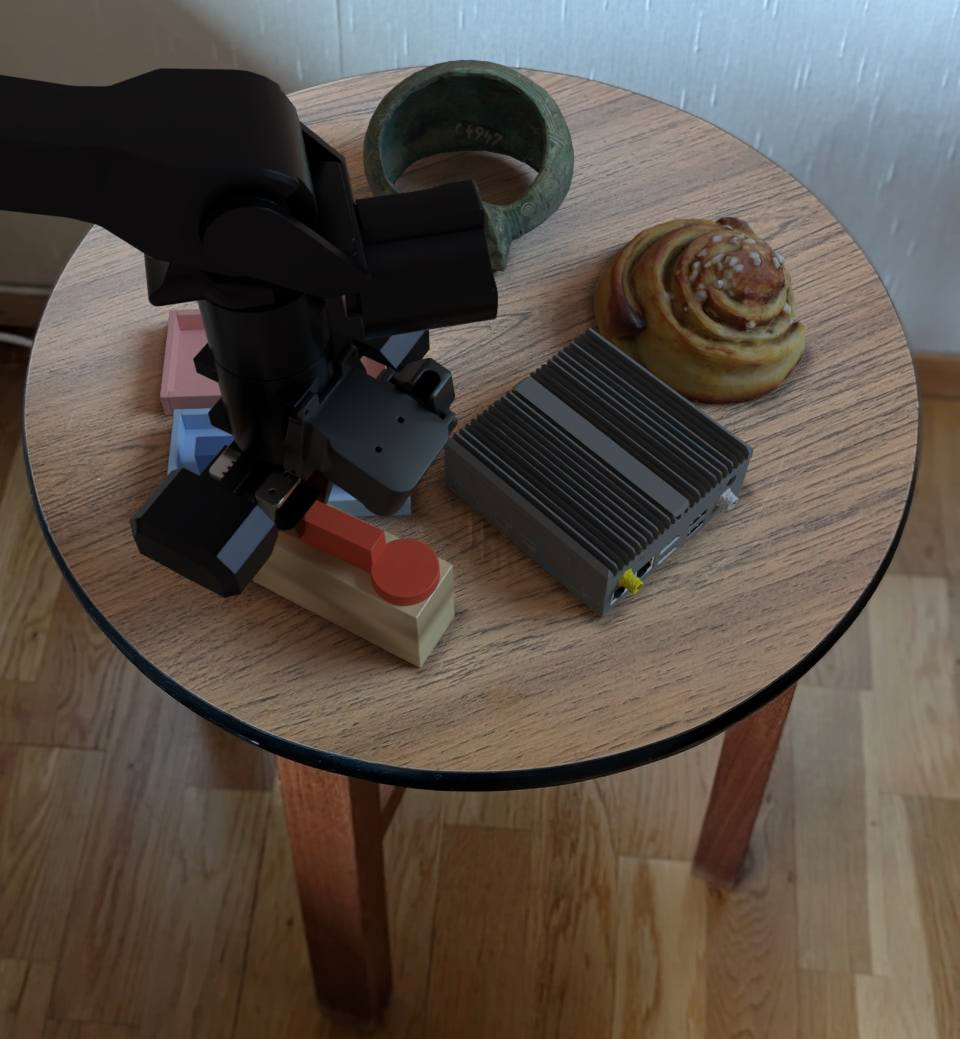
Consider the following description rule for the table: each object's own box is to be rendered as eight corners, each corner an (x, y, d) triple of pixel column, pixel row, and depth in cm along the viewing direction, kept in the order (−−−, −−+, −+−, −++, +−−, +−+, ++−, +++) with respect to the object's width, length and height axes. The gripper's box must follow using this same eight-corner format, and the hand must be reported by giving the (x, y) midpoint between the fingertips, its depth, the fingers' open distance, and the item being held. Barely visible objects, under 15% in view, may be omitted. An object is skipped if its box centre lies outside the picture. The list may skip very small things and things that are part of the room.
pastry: (762, 430, 87) (786, 350, 80) (557, 345, 91) (563, 262, 84) (835, 297, 93) (862, 212, 87) (640, 222, 97) (652, 136, 90)
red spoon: (452, 564, 74) (451, 540, 72) (418, 617, 73) (417, 594, 70) (274, 483, 77) (269, 458, 75) (238, 532, 76) (231, 507, 73)
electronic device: (614, 631, 79) (622, 588, 75) (437, 480, 85) (435, 432, 81) (754, 503, 84) (769, 456, 80) (578, 369, 90) (583, 318, 85)
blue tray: (169, 523, 83) (163, 506, 81) (179, 426, 87) (173, 409, 85) (410, 515, 83) (409, 498, 82) (409, 419, 87) (408, 401, 86)
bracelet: (349, 275, 94) (337, 166, 86) (381, 131, 103) (373, 19, 94) (561, 292, 93) (570, 184, 85) (577, 146, 102) (585, 34, 93)
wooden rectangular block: (455, 616, 79) (453, 564, 74) (420, 668, 78) (416, 619, 72) (279, 528, 83) (266, 472, 78) (242, 576, 81) (226, 522, 76)
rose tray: (165, 415, 88) (159, 397, 86) (175, 328, 92) (169, 309, 90) (394, 407, 88) (392, 389, 86) (393, 321, 92) (391, 303, 90)
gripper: (302, 557, 55) (335, 716, 68) (519, 268, 64) (512, 458, 77) (89, 448, 58) (160, 621, 71) (325, 187, 67) (350, 383, 80)
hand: (306, 518), depth 75 cm, fingers closed
